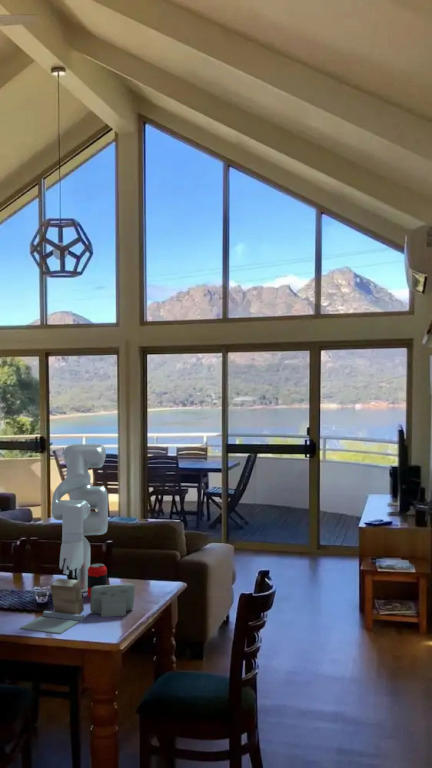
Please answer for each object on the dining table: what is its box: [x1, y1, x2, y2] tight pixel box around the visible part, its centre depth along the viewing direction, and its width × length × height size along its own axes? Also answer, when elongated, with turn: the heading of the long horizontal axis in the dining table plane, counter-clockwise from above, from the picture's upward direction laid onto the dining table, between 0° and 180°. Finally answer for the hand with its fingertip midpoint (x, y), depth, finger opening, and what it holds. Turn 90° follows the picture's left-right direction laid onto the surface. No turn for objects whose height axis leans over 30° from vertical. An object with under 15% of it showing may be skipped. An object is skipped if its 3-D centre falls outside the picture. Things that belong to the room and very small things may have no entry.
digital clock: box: [89, 583, 136, 618], centre depth 239 cm, size 16×9×11 cm, turn 94°
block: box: [50, 577, 85, 615], centre depth 236 cm, size 5×9×12 cm, turn 72°
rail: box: [42, 610, 85, 622], centre depth 233 cm, size 2×16×2 cm, turn 71°
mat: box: [19, 616, 80, 635], centre depth 225 cm, size 12×16×1 cm
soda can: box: [87, 563, 108, 599], centre depth 261 cm, size 8×8×12 cm
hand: (72, 587), depth 239 cm, fingers closed
